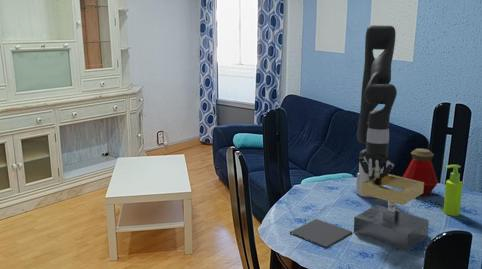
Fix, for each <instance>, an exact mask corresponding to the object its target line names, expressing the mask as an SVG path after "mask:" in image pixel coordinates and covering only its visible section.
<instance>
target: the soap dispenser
mask: <svg viewBox="0 0 482 269" xmlns="http://www.w3.org/2000/svg"><path fill="white" fill-rule="evenodd" d="M444 167H445V168H447V169H453V170H452V171H451V172H450V175H449V179H447V180H446V181H445V190H444V200H443V211H442V213H443V214H445V215H448V216H452V217H453V216H454V217H458V216H460V214H461V204H462V197H463V196H462V194H463V184H464V183H463V181H460V179H461V178H460V177H461V174H460V173H459V168H461V167H462V166H461V165H459V164H448V165H445V166H444Z"/></svg>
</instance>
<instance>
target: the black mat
mask: <svg viewBox="0 0 482 269" xmlns="http://www.w3.org/2000/svg"><path fill="white" fill-rule="evenodd" d="M290 233H293V234H295V235H297V236H296V237H298V236H300V237H302V238H305V239H307V240H309V241H308V242H310V241H312V242H314V243H313V244H315V243H317V244H319V245H318V246H320V245H321V246H320V247H322V246H323V247H322V248H324V247H326V248H325V249H327V248H329V247H331V246H332V244H333V245H334V244H336V243H338V242H339V240H340V241H341V240H343V239H344V238H347V237H348V236H350V235H352V234H353V231H351V230H348V229H347V228H343V227H340V226H338V225H334V224H332V223H329V222H327V221H324V220H320V219H317V218H315V219H313V220H311V221H309V222H307V223H305V224H303V225H300V226H299V227H297V228H295V229H293V230H290V231H289V234H290ZM293 234H292V235H293ZM295 235H294V236H295ZM300 237H299V238H300ZM302 238H301V239H302ZM305 239H304V240H305ZM307 240H306V241H307ZM337 241H338V242H337ZM312 242H311V243H312ZM335 242H336V243H335ZM317 244H316V245H317ZM330 245H331V246H330ZM328 246H329V247H328Z"/></svg>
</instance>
